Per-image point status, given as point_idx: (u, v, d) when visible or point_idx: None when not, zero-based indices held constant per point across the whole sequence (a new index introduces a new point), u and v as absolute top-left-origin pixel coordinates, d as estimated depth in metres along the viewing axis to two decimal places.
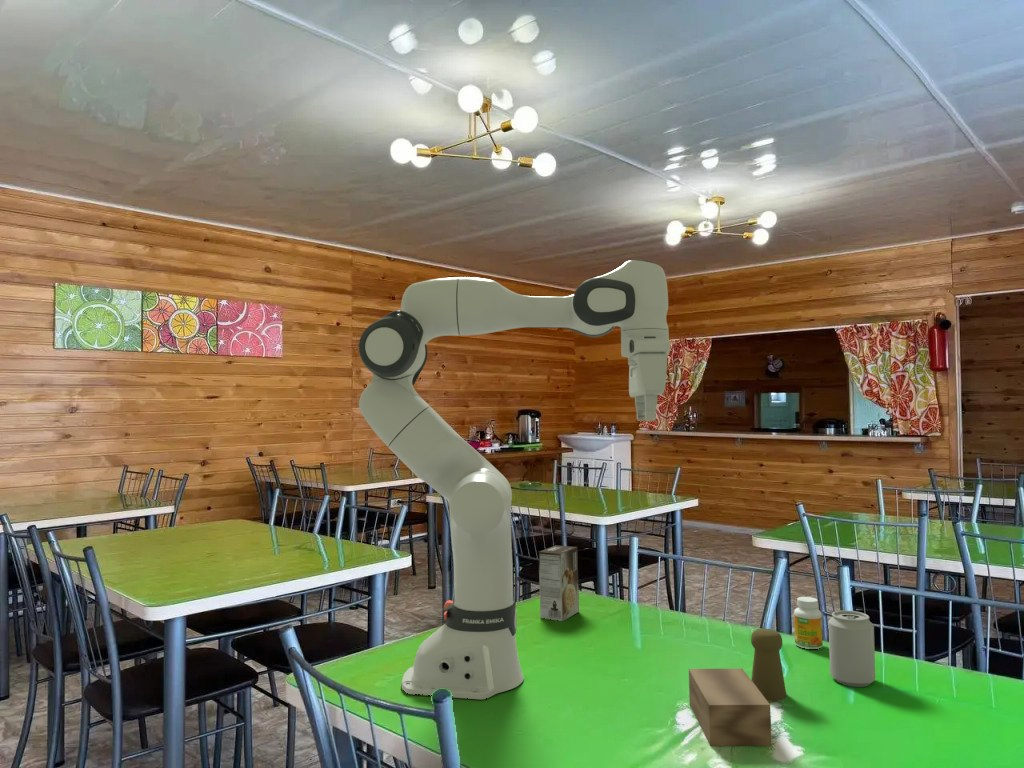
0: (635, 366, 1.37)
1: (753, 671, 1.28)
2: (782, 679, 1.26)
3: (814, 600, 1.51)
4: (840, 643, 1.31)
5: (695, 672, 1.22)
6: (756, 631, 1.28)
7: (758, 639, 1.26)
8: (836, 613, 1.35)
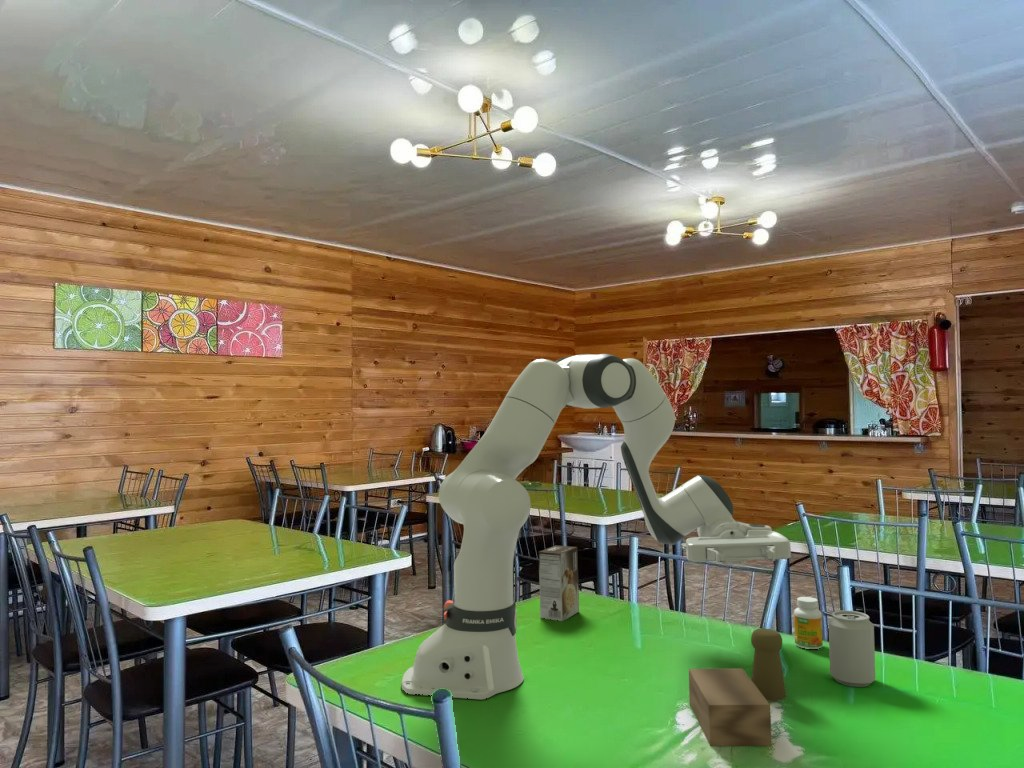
0: (731, 537, 1.50)
1: (753, 671, 1.28)
2: (782, 679, 1.26)
3: (814, 600, 1.51)
4: (840, 643, 1.31)
5: (695, 672, 1.22)
6: (756, 631, 1.28)
7: (758, 639, 1.26)
8: (836, 613, 1.35)
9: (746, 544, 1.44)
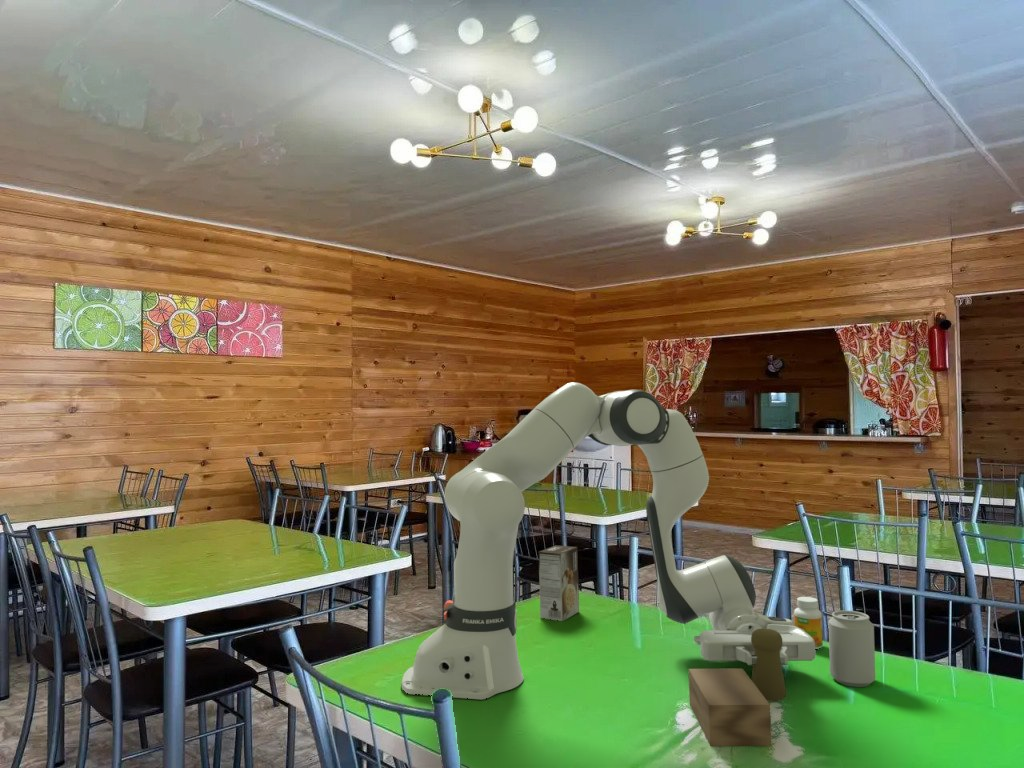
0: (749, 632, 1.37)
1: (753, 670, 1.28)
2: (782, 679, 1.26)
3: (814, 600, 1.51)
4: (840, 643, 1.31)
5: (695, 672, 1.22)
6: (756, 631, 1.28)
7: (758, 639, 1.26)
8: (836, 613, 1.35)
9: None
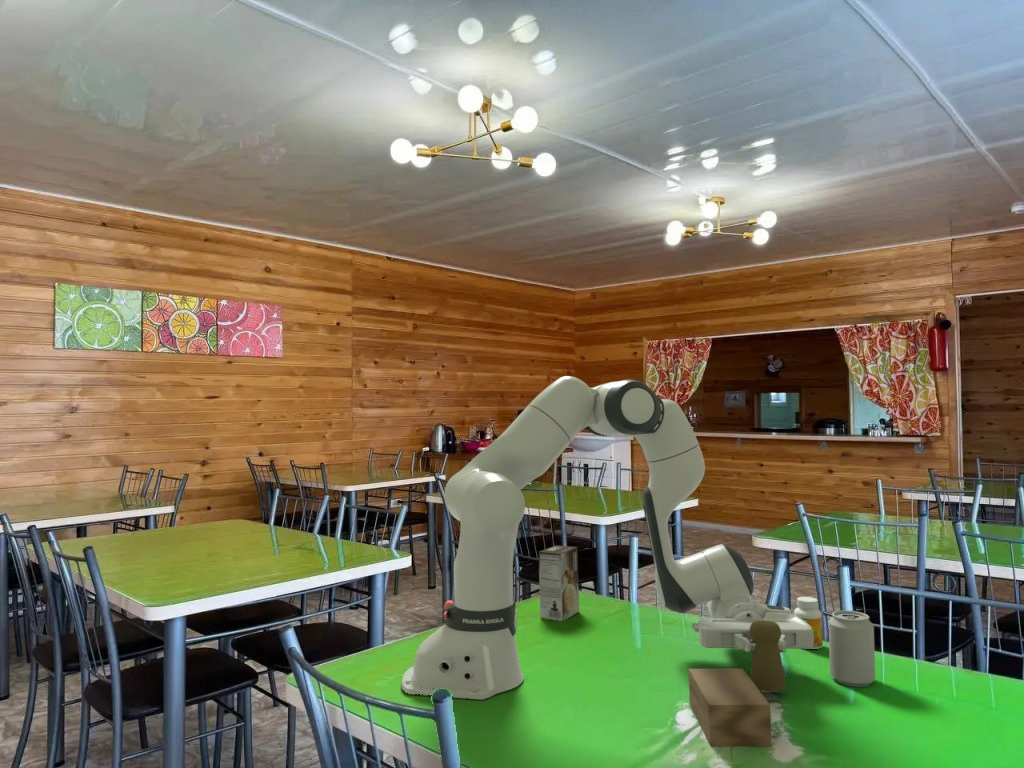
0: (748, 620, 1.37)
1: (752, 662, 1.28)
2: (781, 671, 1.25)
3: (814, 600, 1.51)
4: (840, 643, 1.31)
5: (695, 672, 1.22)
6: (754, 622, 1.28)
7: (755, 629, 1.27)
8: (836, 613, 1.35)
9: None
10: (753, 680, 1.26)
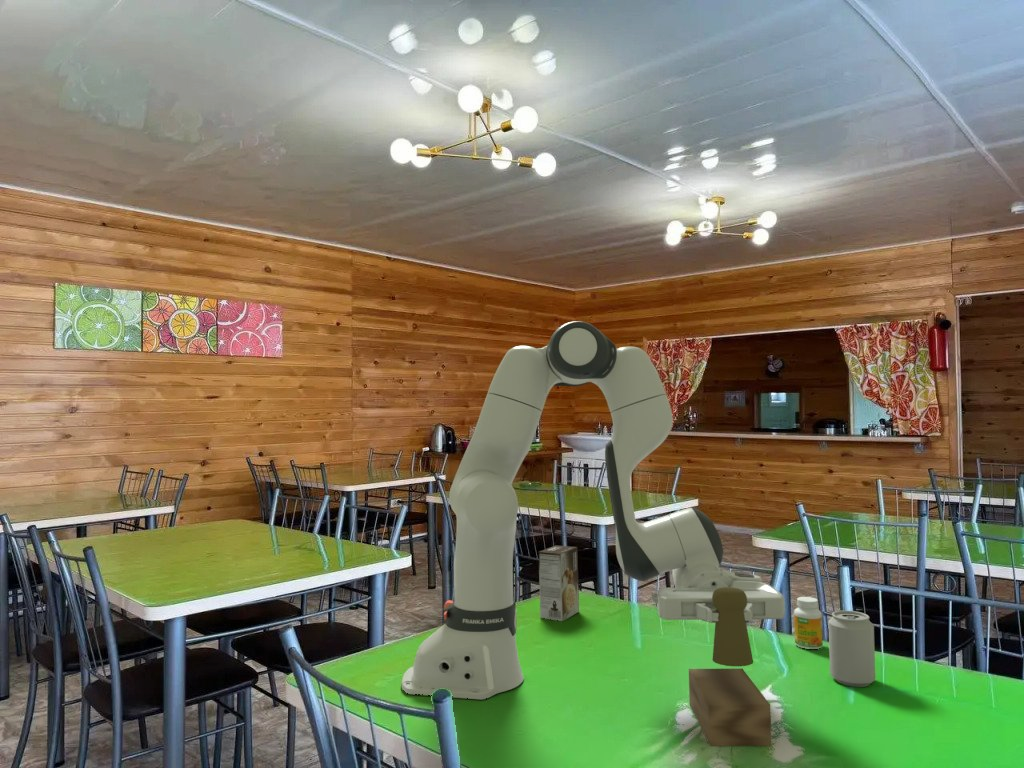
0: (712, 589, 1.23)
1: None
2: (747, 643, 1.11)
3: (814, 600, 1.51)
4: (840, 643, 1.31)
5: (695, 672, 1.22)
6: (717, 589, 1.14)
7: (718, 596, 1.13)
8: (836, 613, 1.35)
9: None
10: (715, 654, 1.12)
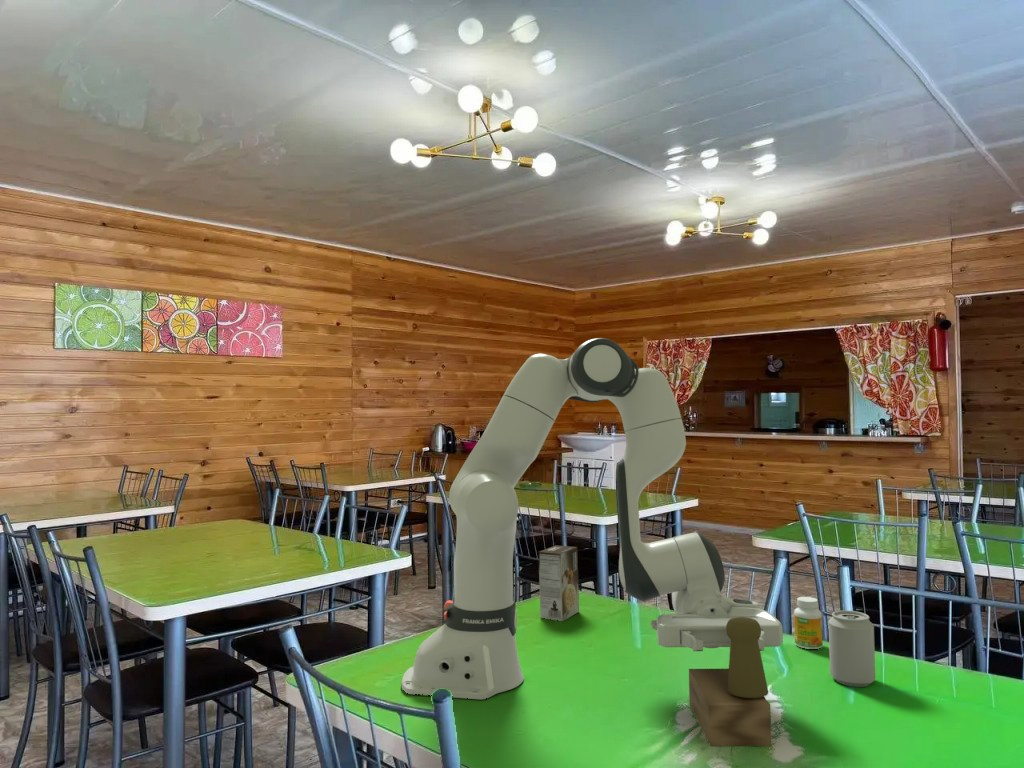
0: (711, 615, 1.24)
1: (729, 665, 1.14)
2: (762, 673, 1.11)
3: (814, 600, 1.51)
4: (840, 643, 1.31)
5: (695, 672, 1.22)
6: (731, 619, 1.14)
7: (732, 627, 1.13)
8: (836, 613, 1.35)
9: None
10: (731, 685, 1.12)
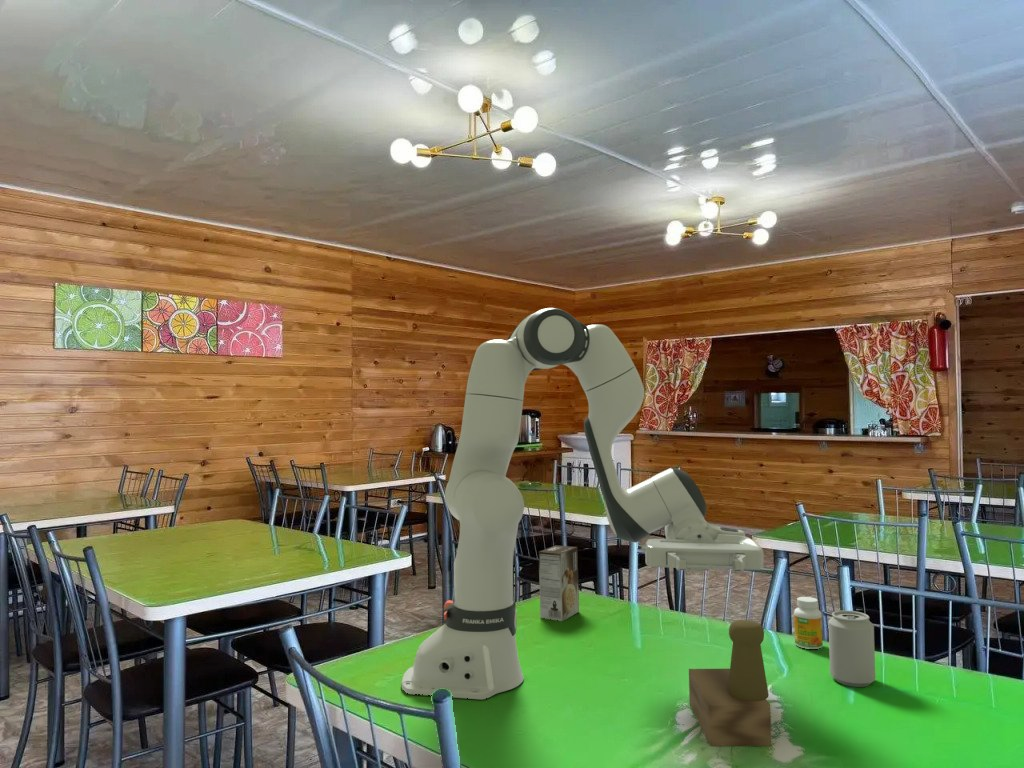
0: (698, 541, 1.32)
1: (730, 667, 1.13)
2: (763, 677, 1.11)
3: (814, 600, 1.51)
4: (840, 643, 1.31)
5: (695, 672, 1.22)
6: (734, 622, 1.14)
7: (735, 631, 1.12)
8: (836, 613, 1.35)
9: (713, 551, 1.26)
10: (731, 687, 1.12)
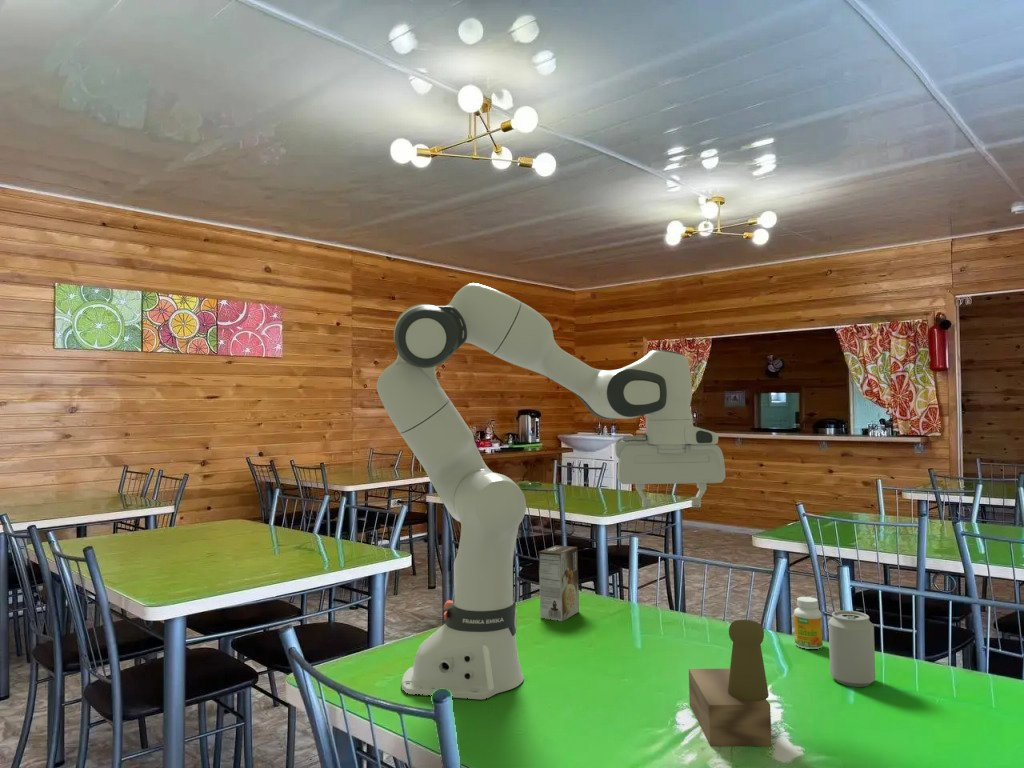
0: (670, 454, 1.39)
1: (730, 667, 1.13)
2: (763, 677, 1.11)
3: (814, 600, 1.51)
4: (840, 643, 1.31)
5: (695, 672, 1.22)
6: (734, 622, 1.14)
7: (735, 631, 1.12)
8: (836, 613, 1.35)
9: None
10: (731, 687, 1.12)
